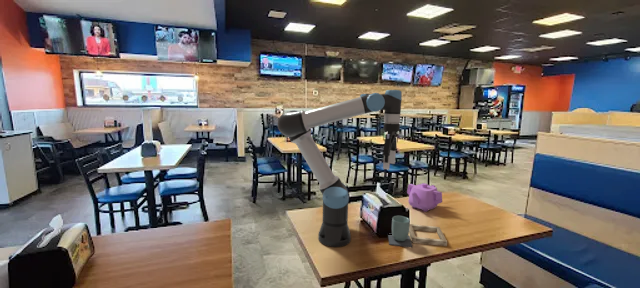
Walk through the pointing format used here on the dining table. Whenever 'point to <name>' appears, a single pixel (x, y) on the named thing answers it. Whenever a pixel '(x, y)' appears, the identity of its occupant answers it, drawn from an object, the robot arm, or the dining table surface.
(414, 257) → the dining table surface
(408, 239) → the coaster
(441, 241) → the holder
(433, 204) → the teapot
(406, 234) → the cup
